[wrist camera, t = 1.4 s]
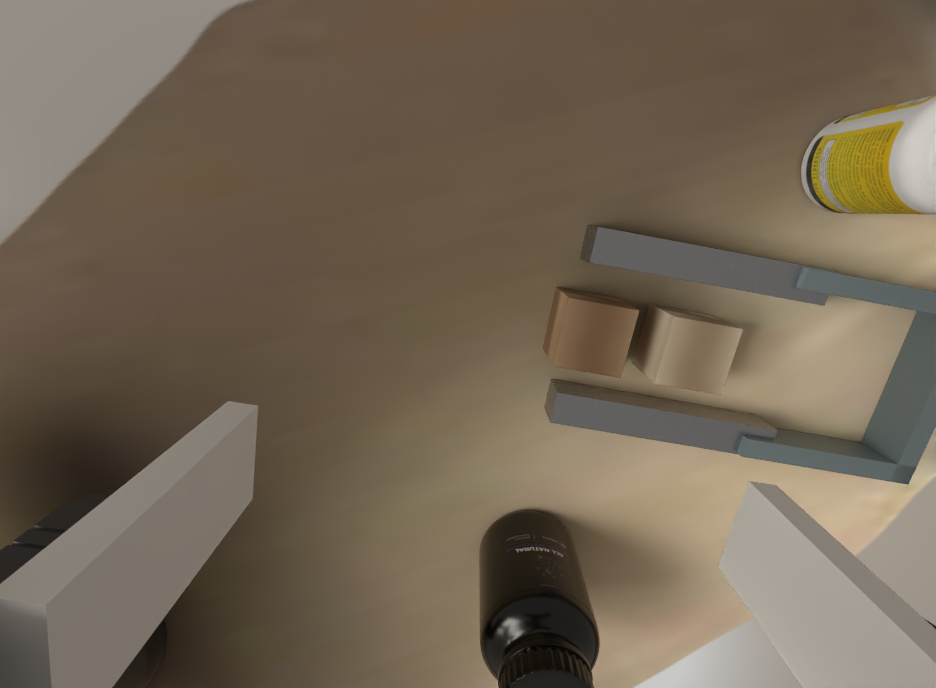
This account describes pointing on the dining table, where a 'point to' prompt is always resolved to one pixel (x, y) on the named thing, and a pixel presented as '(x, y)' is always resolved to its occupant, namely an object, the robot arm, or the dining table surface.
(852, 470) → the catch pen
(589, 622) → the supplement bottle
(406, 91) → the dining table surface
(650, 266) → the slot rails
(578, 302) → the brown cube
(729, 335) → the beige cube
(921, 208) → the supplement bottle
